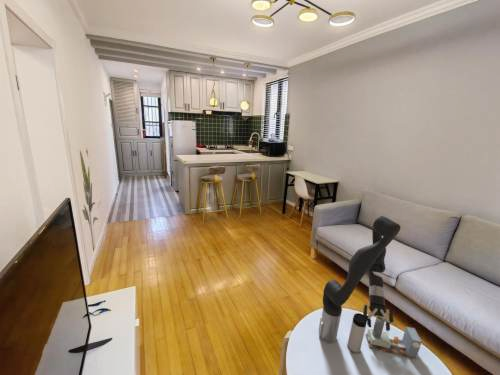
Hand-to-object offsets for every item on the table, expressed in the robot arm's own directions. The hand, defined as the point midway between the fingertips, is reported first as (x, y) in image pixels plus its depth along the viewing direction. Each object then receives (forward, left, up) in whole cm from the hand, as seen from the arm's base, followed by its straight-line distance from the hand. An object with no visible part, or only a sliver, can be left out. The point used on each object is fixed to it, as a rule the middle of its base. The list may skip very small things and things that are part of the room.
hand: (378, 329), depth 123 cm
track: (+7, +1, -10) cm, 13 cm away
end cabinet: (+16, +1, -9) cm, 19 cm away
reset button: (+11, +1, -7) cm, 13 cm away
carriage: (+1, +1, -8) cm, 8 cm away
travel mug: (-12, -5, -10) cm, 16 cm away
